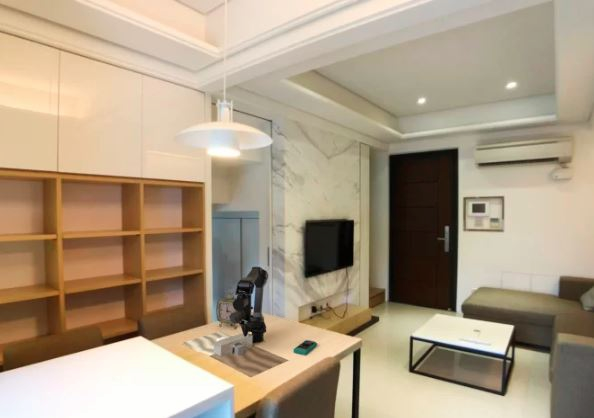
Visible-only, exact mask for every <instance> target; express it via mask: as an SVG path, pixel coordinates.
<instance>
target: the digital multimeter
mask: <svg viewBox="0 0 594 418" xmlns="http://www.w3.org/2000/svg"><path fill="white" fill-rule="evenodd" d="M316 346H318V342H316V341H314V340H308V339H305V340H304V341H302V342H301V343H300V344H299V345H297V346H296V347H295V348H293V354H297V355H301V356H308V354H309V353H310V352H312V351H313V350H314V349H316V348H317V347H316ZM313 348H314V349H313ZM312 349H313V350H312Z"/></svg>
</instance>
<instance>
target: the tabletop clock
mask: <svg viewBox="0 0 594 418" xmlns="http://www.w3.org/2000/svg"><path fill="white" fill-rule="evenodd" d="M227 289H232V290H233V292H231V291H227ZM224 290H225V293H226V296H225V297H224V298H221V299H218V300H217V303H216V310H215V312H216V315H215V316H216V319H217V321H218V322H219V323H220V324H219V325H218V326H219V327H220V328H221V327H222V325H223V324H228V325H230V326H231V327H232V326H233V329H234V330H236V329H237V326H236V324H234V323H232V322H231V321H230V318H229V316H230V315H231V313H234V312H236V311H237V310H235V309H234V307H233V302H234V300H235V299H237V297H234V294H235V293H236V289H235V288H233V287H231V286H227V287H225V289H224Z"/></svg>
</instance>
